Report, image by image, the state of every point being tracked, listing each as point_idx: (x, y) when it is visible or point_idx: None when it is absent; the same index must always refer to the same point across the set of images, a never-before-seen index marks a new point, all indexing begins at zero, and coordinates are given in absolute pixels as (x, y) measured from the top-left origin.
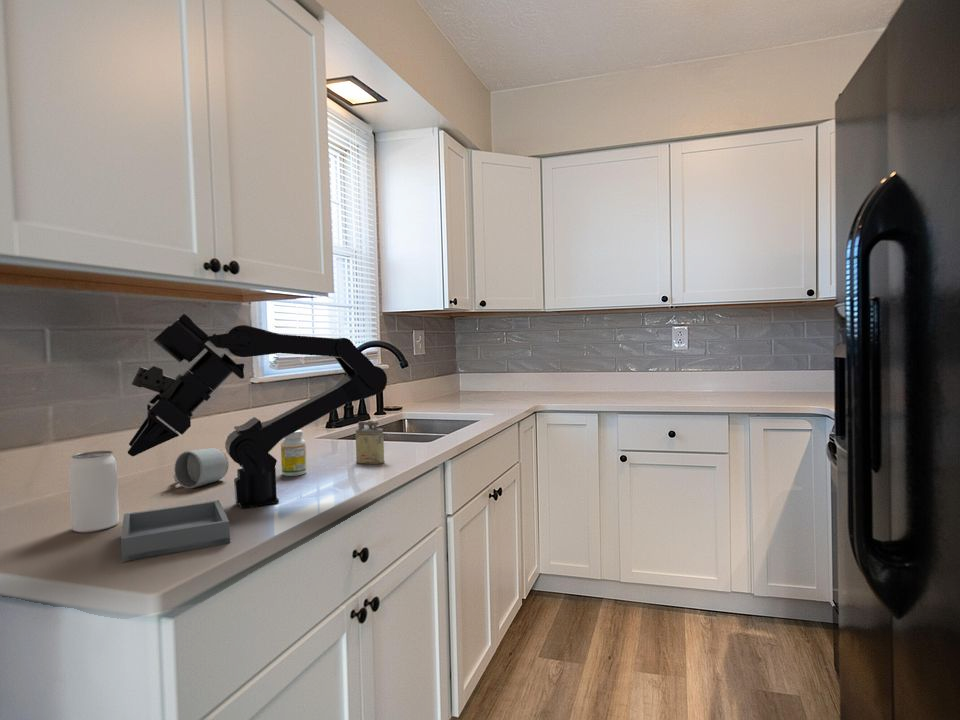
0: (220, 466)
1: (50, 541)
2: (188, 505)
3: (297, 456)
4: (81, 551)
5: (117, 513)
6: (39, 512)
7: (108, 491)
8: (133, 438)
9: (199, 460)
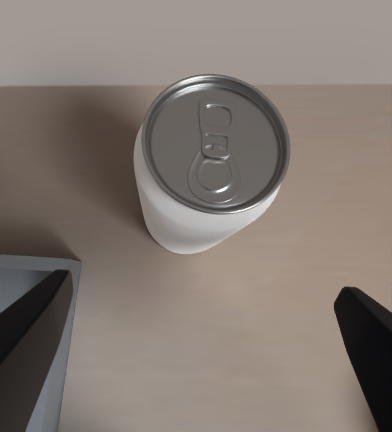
0: None
1: (135, 140)
2: (30, 428)
3: None
4: (18, 185)
5: (172, 249)
6: (369, 126)
7: (149, 220)
8: (363, 311)
9: None
